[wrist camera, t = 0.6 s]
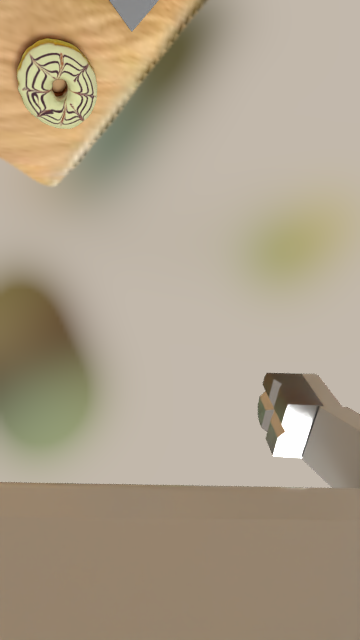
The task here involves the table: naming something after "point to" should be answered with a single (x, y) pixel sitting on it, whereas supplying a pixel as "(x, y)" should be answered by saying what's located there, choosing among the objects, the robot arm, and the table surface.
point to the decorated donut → (51, 64)
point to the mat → (133, 10)
